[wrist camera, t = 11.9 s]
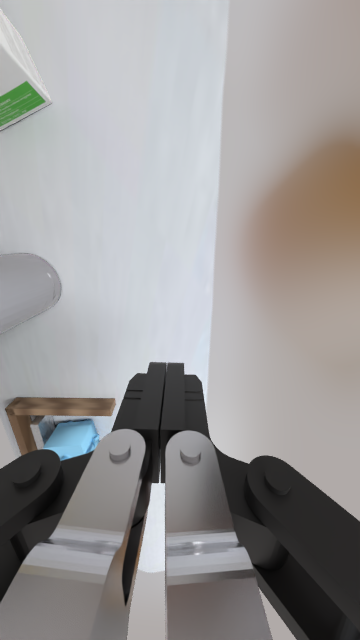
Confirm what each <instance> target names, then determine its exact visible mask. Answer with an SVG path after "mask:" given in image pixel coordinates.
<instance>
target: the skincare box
mask: <svg viewBox="0 0 360 640" xmlns="http://www.w3.org/2000/svg"><path fill="white" fill-rule="evenodd" d="M51 103H52V101H51V98H50V96H49V94H48V92H47V89H46V87H45V85H44V83H43V81H42V79H41V77H40V75H39V72H38V70H37V68H36V66H35V64H34V62H33V60H32V58H31V55H30V53H29V51H28V49H27V47H26V45H25V43H24V40H23V39H22V37H21V36H20V35H19V33H18V32H17V30H16V29H15V28H14V26H13V25H12V24H11V22H10V21H9V20H8V18H7V17H6V16H5V14H4V13H3V11H2V10H1V9H0V130H3V129H4V128H6V127H8V126H9V125H12V124H14V123H16V122H18V121H20V120H21V119H23V118H25V117H27V116H29V115H30V114H32V113H34V112H36V111H38V110H40V109H42V108H44V107H46V106H48V105H50V104H51Z"/></svg>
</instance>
